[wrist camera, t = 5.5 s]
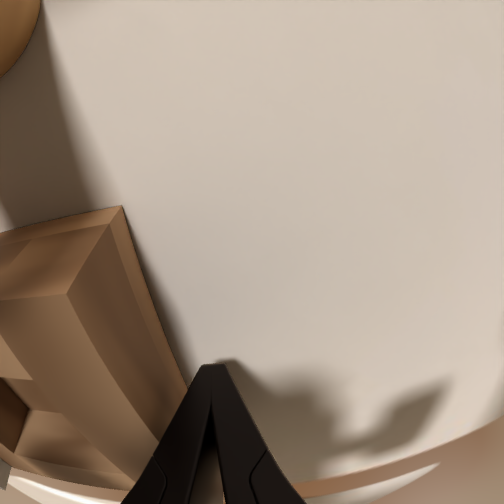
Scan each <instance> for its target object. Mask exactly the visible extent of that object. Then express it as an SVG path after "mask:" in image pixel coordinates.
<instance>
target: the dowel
mask: <svg viewBox="0 0 504 504" xmlns="http://www.w3.org/2000/svg"><path fill="white" fill-rule="evenodd" d="M40 2H41V0H0V78H1V77H2V76H3V75H4V74H5V73H6V72H7V71H8V70H9V69H10V68H11V67H12V66H13V65H14V64H15V62H16V61H17V60H18V58H19V57H20V55H21V54H22V52H23V51H24V49H25V47H26V46H27V44H28V42H29V40H30V38H31V35H32V33H33V30H34V28H35V25H36V22H37V19H38V14H39V10H40Z"/></svg>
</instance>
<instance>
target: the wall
mask: <svg viewBox="0 0 504 504" xmlns="http://www.w3.org/2000/svg"><path fill="white" fill-rule="evenodd" d="M10 470H11V466H10V465H8V464H7V463H6V462H4V461H3V460H2V459H0V489H2V490H6V486H7V482H8V478H9V474H10Z"/></svg>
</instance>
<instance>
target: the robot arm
mask: <svg viewBox="0 0 504 504" xmlns="http://www.w3.org/2000/svg"><path fill="white" fill-rule="evenodd" d="M223 492H224V497H225V502H226V504H307V503H306V502H305V501H304V500H303V499H302V497H301V496H300V495H299V494H298V493H297V491H296V490H295V489H294V488H293V486H292V485H291V484H290V482H289V481H288V480H287V478H286V477H285V476H284V474H283V473H282V471H281V469H280V468H279V466H278V464H277V463H276V461H275V459H274V457H273V456H272V454H271V452H270V451H269V449H268V447H267V445H266V443H265V441H264V439H263V437H262V435H261V434H260V432H259V430H258V428H257V426H256V424H255V422H254V420H253V418H252V416H251V414H250V412H249V410H248V408H247V406H246V404H245V402H244V400H243V398H242V396H241V394H240V392H239V390H238V388H237V386H236V384H235V382H234V380H233V378H232V376H231V374H230V372H229V370H228V368H227V366H226V364H225V363H224V362H222V363H213V364H203V365H201V367H200V368H199V370H198V372H197V374H196V376H195V378H194V379H193V381H192V383H191V385H190V387H189V389H188V390H187V392H186V394H185V396H184V398H183V400H182V402H181V403H180V405H179V407H178V409H177V411H176V413H175V414H174V416H173V418H172V420H171V422H170V424H169V425H168V427H167V429H166V431H165V433H164V435H163V436H162V438H161V440H160V442H159V444H158V446H157V447H156V449H155V451H154V453H153V456H151V458H150V460H149V462H148V464H147V465H146V467H145V469H144V470H143V472H142V474H141V475H140V477H139V479H138V480H137V482H136V483H135V485H134V486H133V487H132V489H131V490H130V492H129V493H128V494H127V496H126V497H125V498H124V500H123V501H122V502H121V504H223Z"/></svg>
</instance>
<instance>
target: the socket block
mask: <svg viewBox="0 0 504 504" xmlns="http://www.w3.org/2000/svg"><path fill="white" fill-rule="evenodd" d="M187 390H188V389H187V386H186V384H185V382H184V380H183V377H182V375H181V373H180V370H179V368H178V366H177V363H176V361H175V359H174V356H173V354H172V351H171V349H170V346H169V344H168V342H167V339H166V336H165V334H164V331H163V329H162V326H161V324H160V321H159V318H158V316H157V313H156V310H155V308H154V305H153V302H152V299H151V297H150V294H149V291H148V288H147V285H146V282H145V280H144V277H143V274H142V271H141V268H140V265H139V262H138V259H137V255H136V252H135V249H134V246H133V243H132V240H131V236H130V233H129V230H128V226H127V223H126V219H125V216H124V213H123V209H122V206H116V207H111V208H106V209H101V210H96V211H92V212H87V213H82V214H77V215H73V216H68V217H64V218H59V219H55V220H51V221H46V222H42V223H38V224H34V225H30V226H26V227H22V228H18V229H14V230H10V231H6V232H2V233H0V459H2V460H3V461H4V462H6V463H7V464H8V465H10V466H11V467H14V468H17V469H20V470H23V471H27V472H31V473H34V474H38V475H42V476H45V477H50V478H54V479H59V480H63V481H67V482H73V483H78V484H83V485H89V486H95V487H102V488H109V489H117V490H126V491H130V490H131V489H132V487H133V486H134V485H135V483H136V482H137V480H138V479H139V477H140V475H141V474H142V472H143V470H144V469H145V467H146V465H147V464H148V462H149V460H150V458H151V456H153V453H154V451H155V449H156V447H157V446H158V444H159V442H160V440H161V438H162V436H163V435H164V433H165V431H166V429H167V427H168V425H169V424H170V422H171V420H172V418H173V416H174V414H175V413H176V411H177V409H178V407H179V405H180V403H181V402H182V400H183V398H184V396H185V394H186V392H187Z"/></svg>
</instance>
